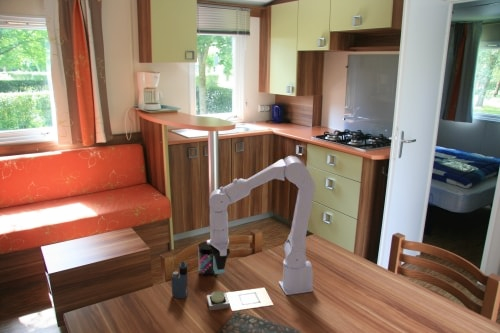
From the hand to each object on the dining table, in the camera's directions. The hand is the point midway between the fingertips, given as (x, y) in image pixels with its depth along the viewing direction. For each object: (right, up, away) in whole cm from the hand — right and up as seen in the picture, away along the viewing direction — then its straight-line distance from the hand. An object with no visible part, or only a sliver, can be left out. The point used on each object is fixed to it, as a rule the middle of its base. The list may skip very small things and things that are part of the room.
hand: (219, 266), depth 131 cm
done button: (0, -9, -6) cm, 11 cm away
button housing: (0, -10, -6) cm, 12 cm away
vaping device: (-12, -9, -2) cm, 16 cm away
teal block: (0, -2, 0) cm, 2 cm away
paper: (+10, -10, -3) cm, 14 cm away
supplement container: (-5, -5, +13) cm, 15 cm away
